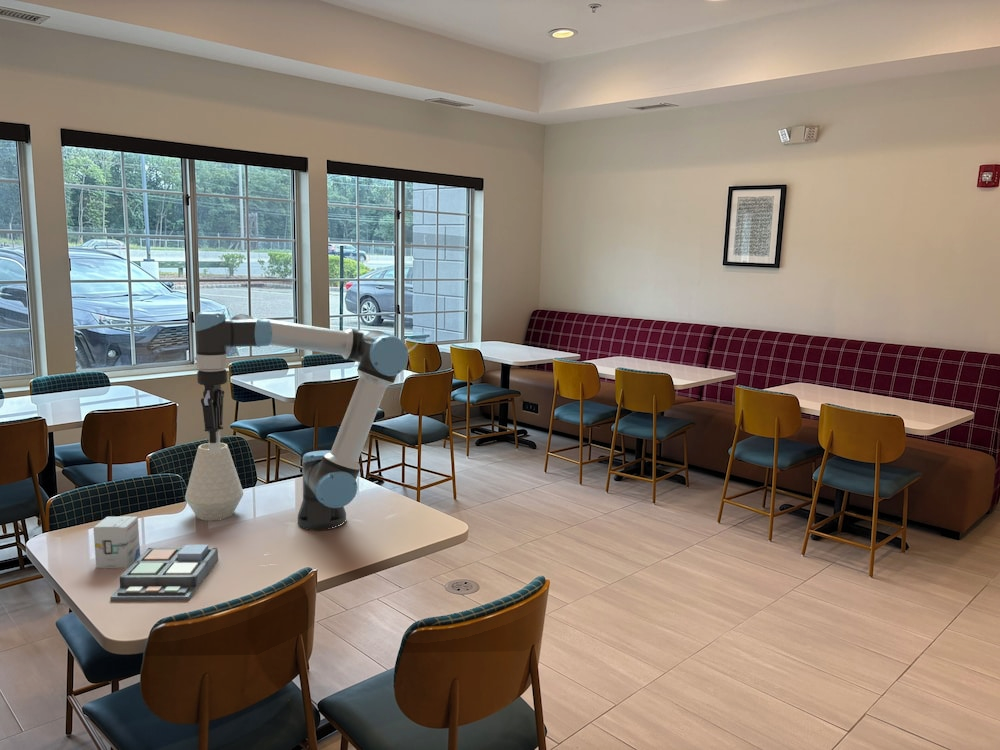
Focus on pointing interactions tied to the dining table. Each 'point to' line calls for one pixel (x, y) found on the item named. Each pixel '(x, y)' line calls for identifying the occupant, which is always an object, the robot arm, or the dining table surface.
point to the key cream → (182, 569)
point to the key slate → (193, 553)
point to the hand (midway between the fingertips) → (214, 453)
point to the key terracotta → (160, 555)
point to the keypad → (163, 580)
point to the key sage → (148, 569)
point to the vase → (213, 484)
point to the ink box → (116, 542)
